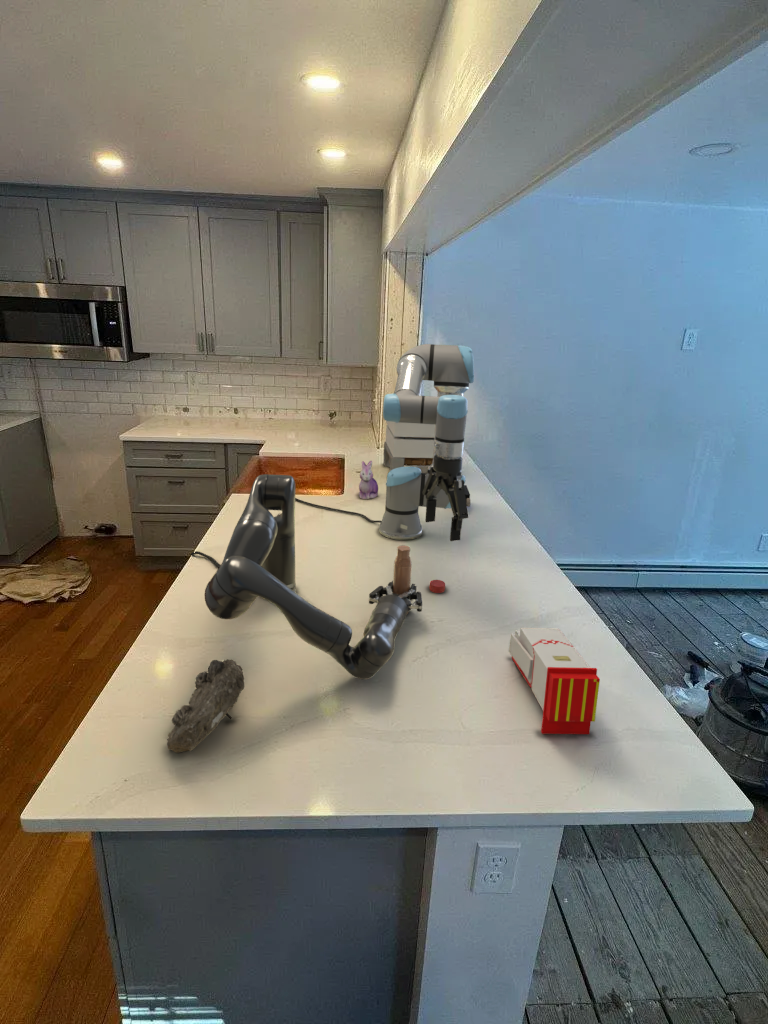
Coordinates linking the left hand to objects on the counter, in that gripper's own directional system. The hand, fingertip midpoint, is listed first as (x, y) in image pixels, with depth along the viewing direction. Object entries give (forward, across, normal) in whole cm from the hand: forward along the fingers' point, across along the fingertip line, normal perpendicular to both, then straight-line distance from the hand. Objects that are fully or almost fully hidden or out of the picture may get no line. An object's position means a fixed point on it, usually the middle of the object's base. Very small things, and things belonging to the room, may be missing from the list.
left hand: (403, 585), depth 149 cm
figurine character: (+88, +5, -6) cm, 88 cm away
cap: (+13, +7, -5) cm, 15 cm away
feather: (+50, -58, -6) cm, 77 cm away
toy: (-25, +36, -6) cm, 45 cm away
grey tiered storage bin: (+130, -20, -6) cm, 132 cm away
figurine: (+87, -34, -6) cm, 93 cm away
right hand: (+13, +7, +12) cm, 19 cm away
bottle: (-3, 0, -6) cm, 7 cm away
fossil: (-53, -25, -6) cm, 59 cm away
